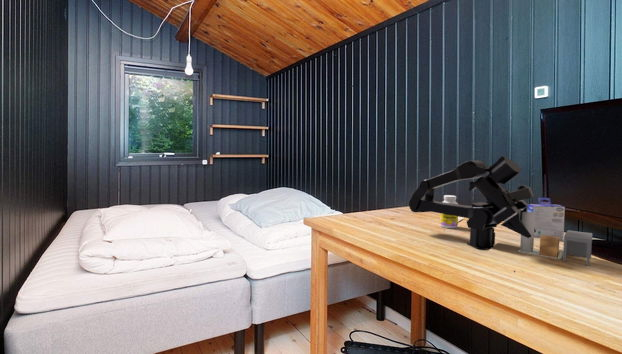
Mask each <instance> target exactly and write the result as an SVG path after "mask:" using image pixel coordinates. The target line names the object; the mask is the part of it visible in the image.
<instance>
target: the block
mask: <svg viewBox="0 0 622 354" xmlns="http://www.w3.org/2000/svg"><path fill="white" fill-rule="evenodd" d="M559 238H560V237H555V236H548V235H542V236H541V237H540V238H539V250H540V252H539V255H545V256H551V257H556V258H557V256H558V255H559V253H560V241H559ZM539 255H538V256H539ZM545 256H544V257H545ZM556 258H555V259H556Z"/></svg>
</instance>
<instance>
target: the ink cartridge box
mask: <svg viewBox="0 0 622 354" xmlns="http://www.w3.org/2000/svg"><path fill="white" fill-rule="evenodd" d="M543 200H544V201H543ZM545 200H546V201H545ZM527 204H528V205H527V207H528V210H527V212H531V213H535V225H534V228H535V230H536V232H535V233H534V238H535V239H540V237H541V236H542V235H548V236H555V237H560V238H559V242H564V236H565V231H564V230H565V215H566V214H565V212H566V206H564V205H561V204H553V203H552V202H551V199H550V197H538V204H535V203H534V204H533V203H527Z"/></svg>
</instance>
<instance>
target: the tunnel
mask: <svg viewBox="0 0 622 354" xmlns="http://www.w3.org/2000/svg"><path fill="white" fill-rule="evenodd" d="M593 235H594V234H593V233H592V232H586V231H585V232H584V231H583V232H582V231H576V230H569V229H568V230H567V231H566V232H565V233H564V238H563V249H562V251H563V256H562V262H565V263H566V260H567V255H570V256H576V257H580V258H581V257H582V258H586V262H585V264H586V265H585V266H587V267H590V261H591V259H592V246H593V245H592V244H593Z"/></svg>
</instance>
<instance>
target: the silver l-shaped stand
mask: <svg viewBox="0 0 622 354" xmlns="http://www.w3.org/2000/svg"><path fill="white" fill-rule="evenodd" d="M522 223H523V224H524V225H525V227H526V228H527V230H528V231H529V233H530V234H531V237H530V238H527V237H525V236H523V235H521V234H520V245H519V246H520V248H519V249H518V250H517V251H516V252H517V253H522V254H523V253H524V254H529V255H534V256H540V257H546V258H550V259H551V258H552V259H557V260H561V259H563V250H559V255H558V256H557V258H556V257H551V256H545V255H539V252H540V249H535V248H534V244H535V242H534V241H535V239H534V225H535V213H531V212H522Z"/></svg>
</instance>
